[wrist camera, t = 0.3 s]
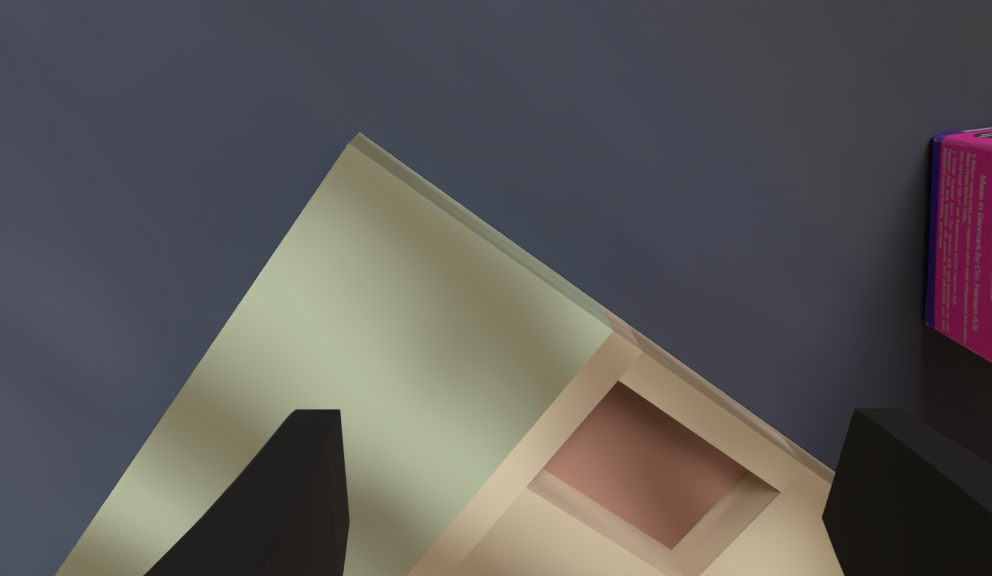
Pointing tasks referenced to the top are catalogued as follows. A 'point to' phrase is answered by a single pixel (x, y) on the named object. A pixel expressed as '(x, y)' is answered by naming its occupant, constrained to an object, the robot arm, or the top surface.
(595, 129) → the top surface
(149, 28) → the top surface
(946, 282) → the supplement box
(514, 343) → the trap deck
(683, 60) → the top surface
